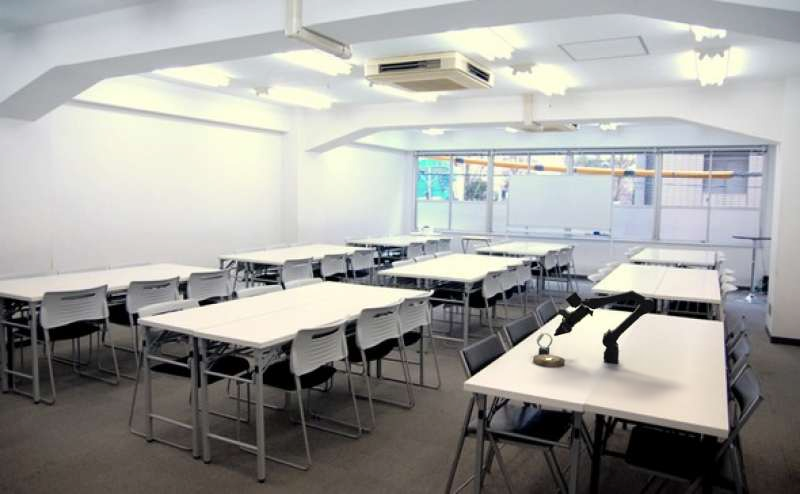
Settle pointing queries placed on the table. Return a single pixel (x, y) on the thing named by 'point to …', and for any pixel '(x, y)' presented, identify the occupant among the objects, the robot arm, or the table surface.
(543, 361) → the round dish
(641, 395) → the table surface
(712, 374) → the table surface
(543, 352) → the watch
